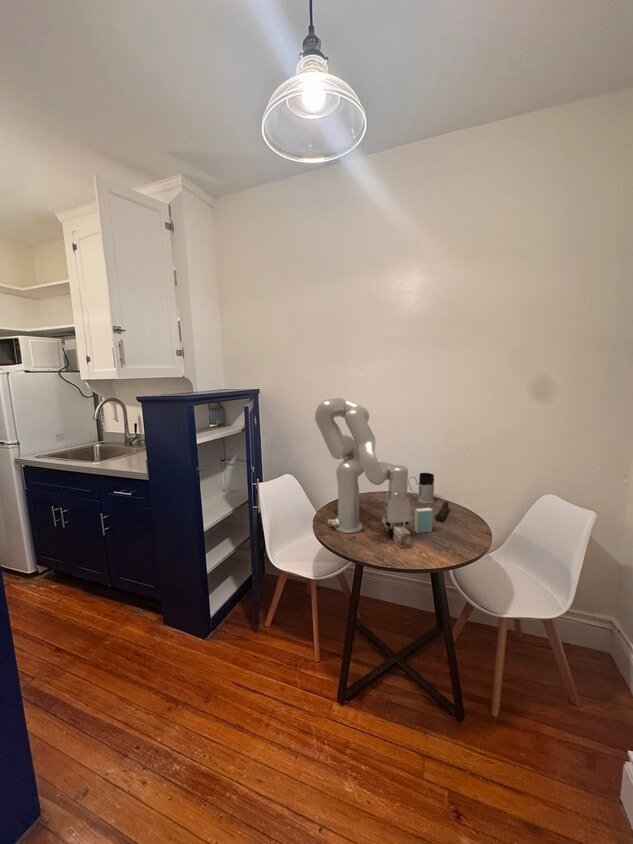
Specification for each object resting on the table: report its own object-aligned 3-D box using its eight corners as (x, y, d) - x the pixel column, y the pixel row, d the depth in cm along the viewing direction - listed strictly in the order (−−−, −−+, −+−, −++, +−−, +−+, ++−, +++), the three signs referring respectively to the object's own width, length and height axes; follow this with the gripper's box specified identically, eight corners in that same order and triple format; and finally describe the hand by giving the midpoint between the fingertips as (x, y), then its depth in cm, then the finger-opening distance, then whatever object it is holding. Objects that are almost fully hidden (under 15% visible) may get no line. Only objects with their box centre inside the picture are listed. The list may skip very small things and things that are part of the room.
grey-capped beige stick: (400, 548, 129) (400, 534, 128) (384, 528, 146) (384, 515, 145) (409, 547, 129) (410, 533, 128) (392, 527, 147) (393, 514, 146)
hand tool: (443, 523, 151) (443, 514, 151) (434, 521, 153) (435, 512, 153) (452, 510, 167) (453, 501, 166) (444, 508, 169) (444, 500, 168)
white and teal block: (417, 533, 142) (418, 511, 140) (414, 530, 144) (415, 508, 143) (432, 531, 143) (433, 510, 141) (429, 529, 145) (429, 507, 144)
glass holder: (436, 503, 174) (437, 477, 173) (409, 503, 176) (410, 476, 174) (431, 498, 183) (432, 472, 181) (406, 497, 184) (406, 472, 182)
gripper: (381, 499, 130) (380, 541, 133) (420, 496, 133) (418, 538, 135) (375, 492, 138) (374, 533, 140) (412, 490, 140) (410, 530, 143)
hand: (396, 535), depth 138 cm, fingers closed on grey-capped beige stick, 4 cm apart
